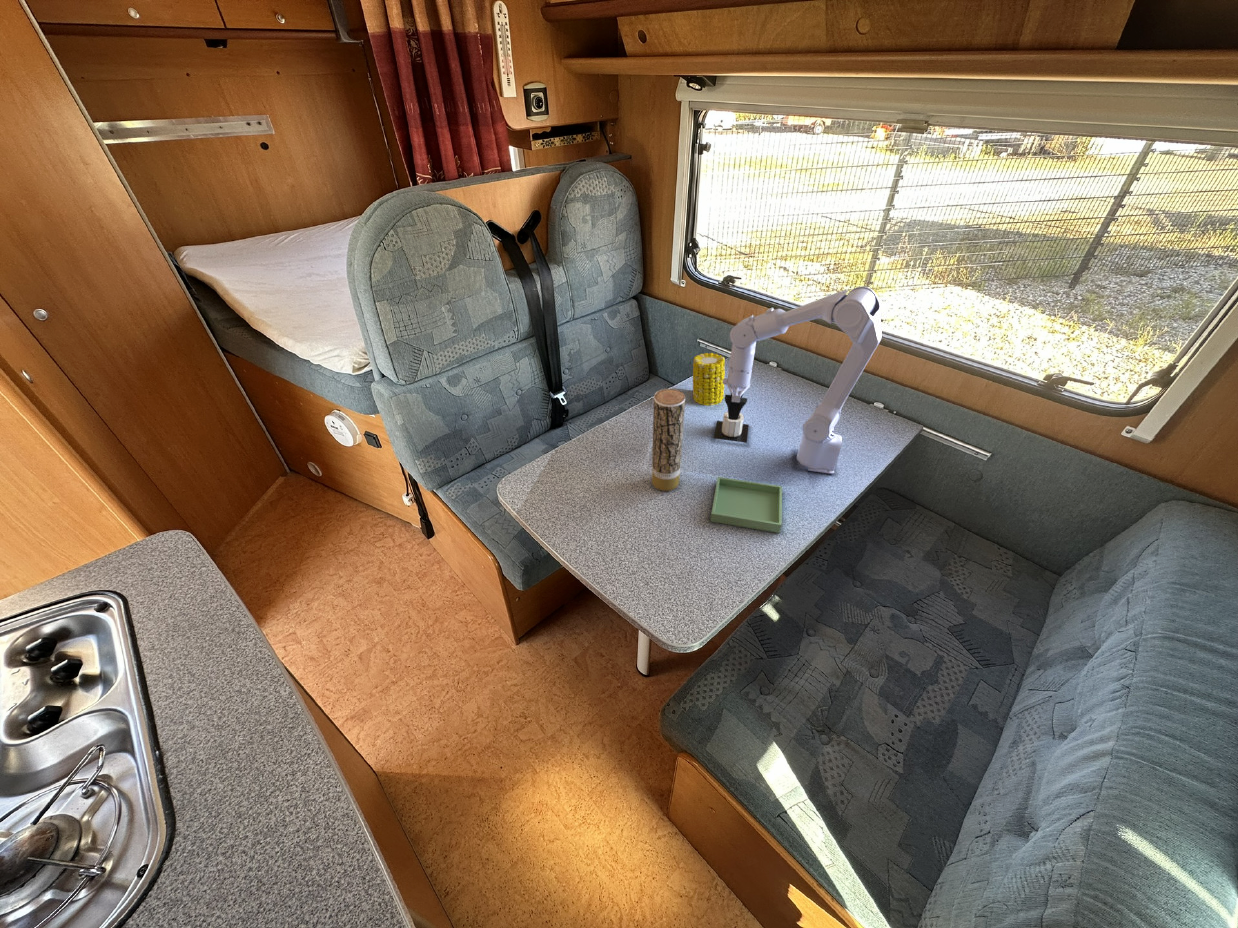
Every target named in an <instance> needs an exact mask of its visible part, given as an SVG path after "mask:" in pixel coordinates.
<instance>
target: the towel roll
mask: <svg viewBox="0 0 1238 928" xmlns="http://www.w3.org/2000/svg"><path fill="white" fill-rule="evenodd" d="M744 418H745V416H744V415H743V413H741V412H740V414H739V417H738V419H737V420H730V419H729V417H728V411H726V412H725V413H723V417H722V421H723V424H722V433H723V434H724V435H726V436H729V437H736V436H739V435H740V434H741V432H742V426H743V424H744Z"/></svg>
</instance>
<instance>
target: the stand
mask: <svg viewBox="0 0 1238 928" xmlns="http://www.w3.org/2000/svg"><path fill="white" fill-rule="evenodd" d="M722 424H723V420H716V424H715V430H714V435H713V439H715V440H721V441H729V442H730V441H731V442H737V443H745V444H747V443H748V438H749V437H748V436H749V429H750V424H747V423H743V426H742V432H741V434H740V435H739V436H736V437H729V436H726V435H724V434H723V433H722Z"/></svg>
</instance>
